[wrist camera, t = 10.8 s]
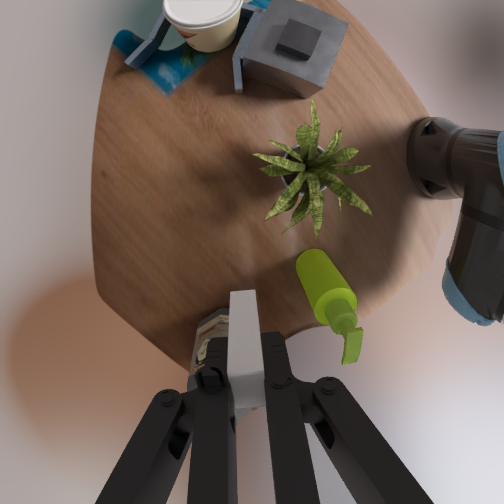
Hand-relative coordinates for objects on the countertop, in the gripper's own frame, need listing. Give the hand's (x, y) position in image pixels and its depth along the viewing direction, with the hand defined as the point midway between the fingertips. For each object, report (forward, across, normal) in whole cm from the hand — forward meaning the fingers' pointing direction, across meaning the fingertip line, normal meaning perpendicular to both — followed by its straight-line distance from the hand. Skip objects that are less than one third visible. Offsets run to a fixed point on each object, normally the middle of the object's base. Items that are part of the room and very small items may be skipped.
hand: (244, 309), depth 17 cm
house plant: (+27, +8, +7) cm, 29 cm away
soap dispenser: (+27, +11, -11) cm, 31 cm away
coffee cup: (+27, -2, +29) cm, 39 cm away
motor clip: (+26, +1, +26) cm, 37 cm away
